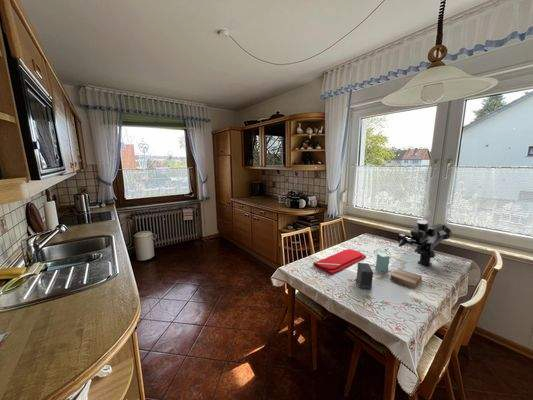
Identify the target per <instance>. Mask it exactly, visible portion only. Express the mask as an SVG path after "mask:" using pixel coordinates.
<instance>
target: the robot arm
mask: <svg viewBox="0 0 533 400" xmlns="http://www.w3.org/2000/svg"><path fill="white" fill-rule="evenodd" d="M409 232H410V236H409V237H410V238H408V237H407V235H405V234H402V233H400V234H398V235H397V243H398V247H399V248H400V247H403V246H405V245H406V244H407V243H410V245H412V246H414V247H416V248H415V249H414V252H415V253H416V254H418V255H419V260H418V261H417V263H418V264H419V265H423V266H426V267H430V266H431V265H432V262H431V259H432V258H433V259H434V258H435V256H436V252H435V249H434V248H435V247H437V245H438V244H440V243H441V242H442V241H445V240H449V239H450V238H452V236H453V232H452V230H451V228H449V227H448V226H447V225H446V224H443V223H436V224H434V225H431V226H429V222H428V219H420V220H419V219H418V220H417V221H416V227H414V228H412V229H410V231H409ZM429 238H430V239H429Z"/></svg>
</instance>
